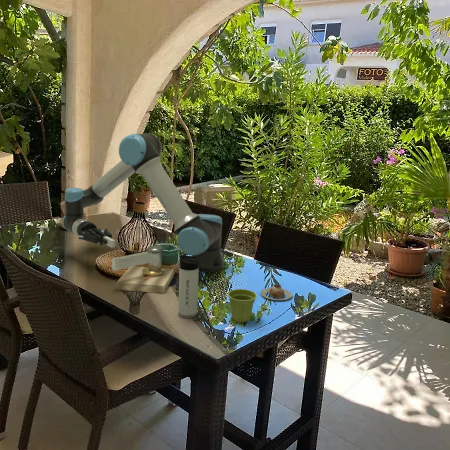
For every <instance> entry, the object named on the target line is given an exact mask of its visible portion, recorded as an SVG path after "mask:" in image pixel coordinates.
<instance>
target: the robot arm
mask: <svg viewBox="0 0 450 450" xmlns="http://www.w3.org/2000/svg"><path fill="white" fill-rule="evenodd" d="M162 145H163V144H162V143H161V140H160V138H159V137H158V136H156V135H155V134H152V133H151V132H150V133H149V132H145V133H132V134H129V135H126V136H124V137H123V138H122V139H121V141H120V142H119V145H118V146H119V147H118V155H119V159H120V161H119V162H118V163H116V164H115V165H114V166H113V167H112V168H110V169H109V170H108V171H107V172H105V174H103V175H102V176H101V177H100V178H99V179H97V180H96V181H95V182H94V183H93V184H91V185H89V187H88V188H86V189H84V190H83V189H82V188H80V187H69V188H66V189H65V190H64V201H65V215H63V217H62V218H63V220H62V225H63V227H64V228H65V230H66V231H67V232H68V233H71V234H74V235H75V236H78V240H81V241H82V240H83V241H85V242H90V243H93V244H99V246H103V245H106V246H107V247H110V248H115V247H116V240H115V239H113V234H111V232H109V229H108V228H105V229H103V230H102V229H101V228H97V225H96V224H94V223H93V222H91V221H90V220H87V219H86V220H85V219H84V211H85V210H84V209H85V208H88V207H91V206H96V205H98V204H100V203H101V202H103V200H104V198H105V197H106V196H107V195H109V194H110V193H111V192H113V191H114V190H115V189H116V188H118V186H120V185H122V183H124V182H125V181H126V180H128V179H129V178H130V177H131V176H132V175H134V173H135V174H139V175H141V176H142V177H143V179H144V180H145V182H146V183H147V185H148V186H149V188H150V190H151V191H152V192H153V194H154V195H155V198H156V199H157V200H158V201H159V203H160V204H161V207H163V210H164V211H165V212H166V214H167V215H168V216H169V218H170V219H171V221H172V223H173V224H174V230H173V231H174V233H175V234H176V236H177V240H176V241H177V245H178V247H179V249H180V250H181V252H183V253H184V254H185V255H187V256H193V257H196V258H197V259H198V260H199V265H198V267H199V269H198V270H199V272H198V273H215V272H217V273H218V272H221V271H222V270H224V268H225V260H224V256H223V254H222V249H221V248H222V232H223V218H222V217H221V216H219V215H216V214H206V213H205V214H204V213H199V214H197V213H194V212H193V211H192V210H191V208H190V206H189V205H188V204H187V201H186V200H185V199H184V197H183V196H182V194H181V193H180V192H179V189H178V188H177V187H176V185H175V184H174V182H173V180H172V179H171V177H170V176H169V175H168V173H167V171H166V170H165V168H164V167H163V165H162V163H161V159H162V157H161V154H162V149H163V146H162ZM64 228H63V229H64Z"/></svg>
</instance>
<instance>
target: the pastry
mask: <svg viewBox="0 0 450 450" xmlns="http://www.w3.org/2000/svg"><path fill="white" fill-rule="evenodd" d="M267 293H268V295H269V296H271V297H269V296H267ZM260 295H261V296H262V297H263V298H266V299H268V300H273V301H288V300H290V299H291V298H292V297H293V293H292V292H291V291H290V290H288V289H284V288H282V284H278V283H274V284H273V285H272V286H271V287H267V288H263V289H261V290H260Z"/></svg>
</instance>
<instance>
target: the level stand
mask: <svg viewBox="0 0 450 450" xmlns="http://www.w3.org/2000/svg"><path fill="white" fill-rule="evenodd" d="M145 267H146V266H145ZM145 267H144V266H133V267H128V268H127V270H126V271H125V272H124V273H123V274H122V275H121V276H120V278H119V279H118V280H117V281H116V290H117V291H128V292H129V291H130V292H139V293H151V294H152V293H153V294H165V292H167V291H166V290H168V288H169V286H170V285H171V282H172V280H173V278H174V277H175V269H174V268H173V269H172V268H162V269H163V273H162V274H161V275H157V276H147V275H144V274H143V273H142V269H143V268H145Z"/></svg>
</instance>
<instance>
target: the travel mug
mask: <svg viewBox="0 0 450 450" xmlns="http://www.w3.org/2000/svg"><path fill="white" fill-rule="evenodd" d="M198 265H199V260H198V259H197V258H196V257H193V256H192V255H187V254H182V255H180V256H179V271H178V272H179V274H178V276H179V277H178V311H177V312H178V313H177V314H178V316H179V317H180V318H183V319H193V318H195V317H196V316H197V315H198V301H199V300H198V298H199V294H198V293H199V273H200V272H199V270H198V269H199V267H198Z"/></svg>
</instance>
